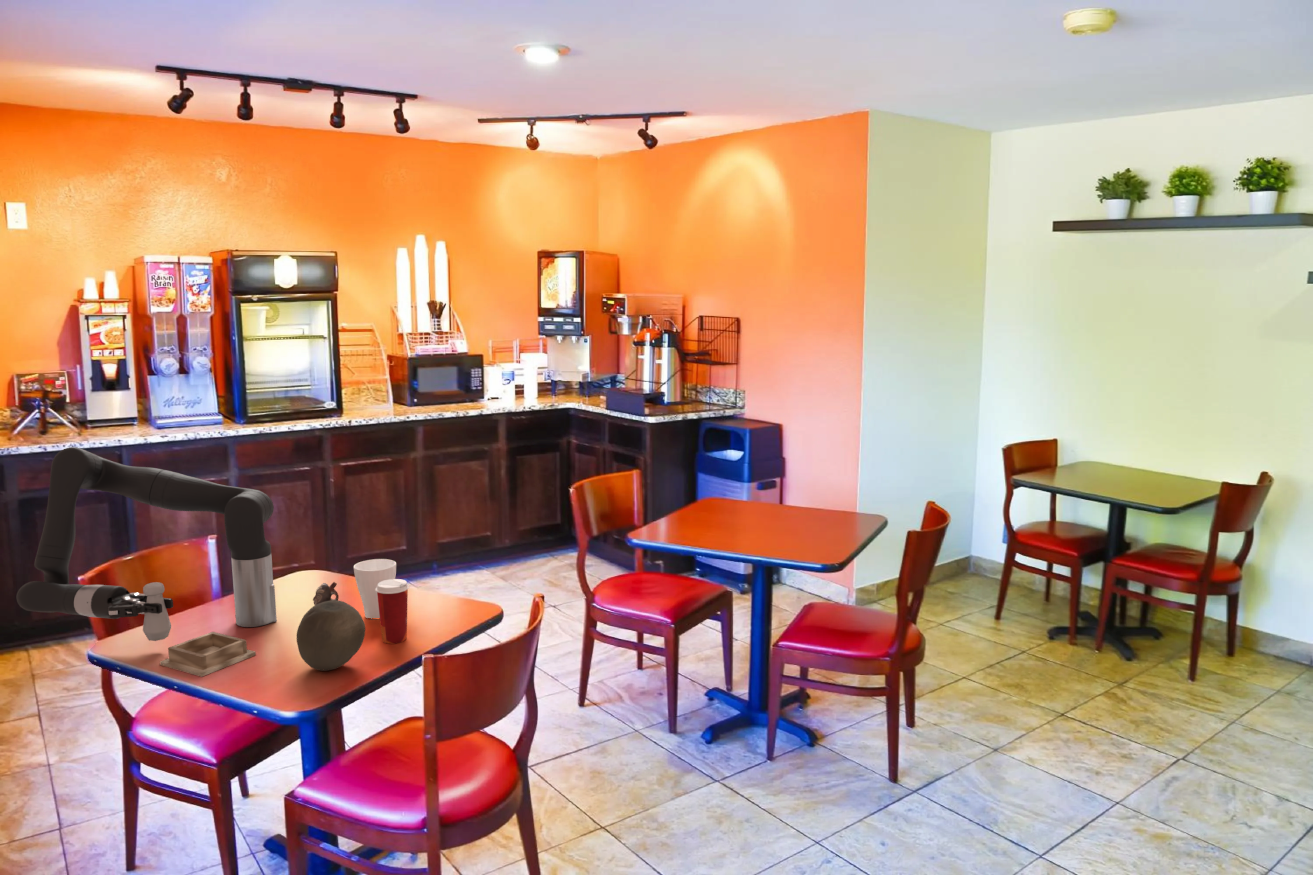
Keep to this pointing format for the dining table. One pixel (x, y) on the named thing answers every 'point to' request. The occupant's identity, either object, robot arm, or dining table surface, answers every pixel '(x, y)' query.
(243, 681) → the dining table surface
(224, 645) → the tray
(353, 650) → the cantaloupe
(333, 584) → the figurine
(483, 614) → the dining table surface
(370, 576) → the cup
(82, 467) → the robot arm
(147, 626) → the salt shaker
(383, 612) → the paper cup
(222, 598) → the dining table surface
